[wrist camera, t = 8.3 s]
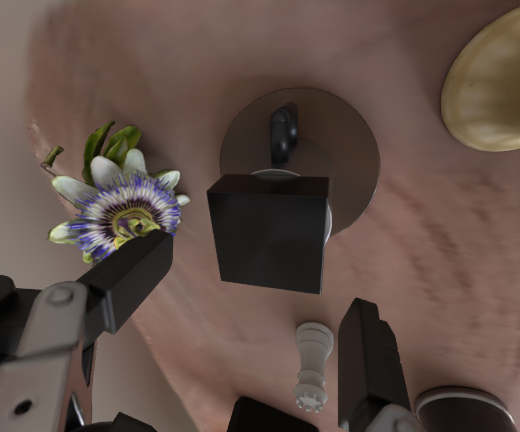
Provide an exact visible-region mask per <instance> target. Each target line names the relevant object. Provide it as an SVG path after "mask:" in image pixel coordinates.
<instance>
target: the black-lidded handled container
mask: <svg viewBox="0 0 520 432" xmlns="http://www.w3.org/2000/svg"><path fill="white" fill-rule="evenodd" d="M269 122H270V147H269V148H268V149H267V150H266V151H265V152H264V153H263V154H262V155H261V156H260V158H259V159H258V160H257V161H256V162H255V163H254V164H253V166H252V167H251V168H250V169H249V170H248V171H247V172H246V174H224V175H223V176H222V177H221V178H220V179H219V180H218V181H217V182H216V183H215V184H214V185H213V186H211V187H210V188H209V189H208V190H207V198H208V204H209V210H210V216H211V222H212V228H213V234H214V240H215V246H216V252H217V258H218V264H219V270H220V276H221V281H226V282H233V283H240V284H247V285H254V286H262V287H269V288H276V289H283V290H290V291H297V292H304V293H312V294H319V295H320V294H321V289H322V276H323V263H324V250H325V243H326V241H327V239H328V237H329V235H330V232H331V226H332V195H333V169H332V165H331V162H330V160H329V158H328V156H327V155H326V153H325V152H324V151H323V150H322V149H321V148H320V147H319V146H317V145H316V144H314V143H312V142H310V141H308V140H305V139H300V138H297V135H298V108H297V105H296V104H295V103H293V102H288V103H286V104H285V105H283V106H281V107H280V108H278V109H277V110H275V111H274V112H273V113H272V114H271V116H270V120H269Z"/></svg>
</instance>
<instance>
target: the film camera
mask: <svg viewBox="0 0 520 432" xmlns="http://www.w3.org/2000/svg"><path fill="white" fill-rule="evenodd" d="M227 432H319V430H318V429H317V428H316V427H314V426H312V425H310V424H308V423H306V422H304V421H301V420H299V419H297V418H294V417H292V416H290V415H288V414H285V413H283V412H281V411H278V410H276V409H274V408H272V407H269V406H267V405H265V404H262V403H259V402H257V401H255V400H252V399H250V398H247V397H240V398H239V399H238V401H236V403H235V405H234V409H233V412H232V416H231V419H230V422H229V426H228V430H227Z"/></svg>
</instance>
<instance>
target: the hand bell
mask: <svg viewBox="0 0 520 432" xmlns="http://www.w3.org/2000/svg"><path fill="white" fill-rule="evenodd" d="M441 113H442V118H443V121H444V123H445V125H446V127H447V129H448V130H449V132H450V133H451V135H452V136H453V137H454V138H456V139H457V140H458V141H459V142H461V143H462V144H464V145H466V146H468V147H471V148H474V149H477V150H483V151H509V150H514V149H519V148H520V7H519V8H516V9H514V10H512V11H510V12H508V13H506V14H504V15H503V16H501V17H499V18H498V19H496V20H495V21H493V22H492V23H491V24H489V25H488V26H487V27H485V28H484V29H483V30H481V31H480V32H479V33H478V34H477V35H476V36H475V37H474V38H473V39H472V40H471V41H470V42H469V43H468V44H467V45H466V47H465V48H464V49H463V50H462V51H461V53H460V54H459V55H458V57H457V58H456V60H455V61H454V63H453V65H452V67H451V68H450V70H449V72H448V75H447V77H446V80H445V82H444V85H443V89H442V96H441Z"/></svg>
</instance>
